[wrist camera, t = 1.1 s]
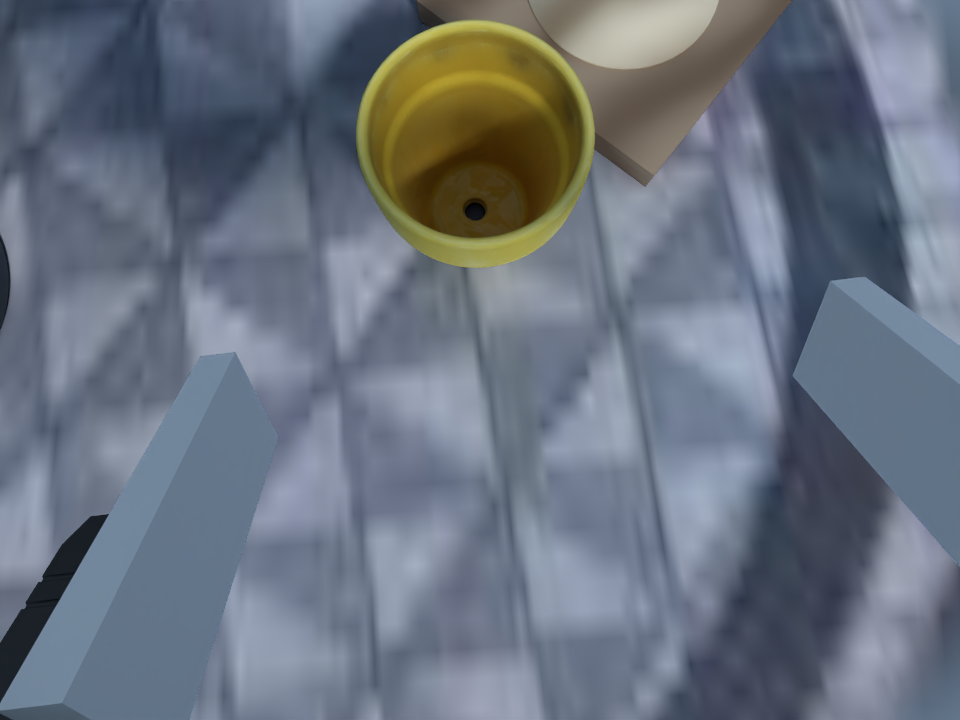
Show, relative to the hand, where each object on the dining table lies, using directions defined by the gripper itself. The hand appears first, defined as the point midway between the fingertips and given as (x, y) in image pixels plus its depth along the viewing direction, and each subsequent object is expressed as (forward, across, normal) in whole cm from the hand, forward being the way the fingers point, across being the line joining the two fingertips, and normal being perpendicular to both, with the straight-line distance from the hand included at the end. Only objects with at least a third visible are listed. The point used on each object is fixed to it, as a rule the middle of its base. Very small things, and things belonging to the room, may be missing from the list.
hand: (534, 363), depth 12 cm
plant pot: (+21, 0, -5) cm, 21 cm away
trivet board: (+30, +10, +4) cm, 32 cm away
